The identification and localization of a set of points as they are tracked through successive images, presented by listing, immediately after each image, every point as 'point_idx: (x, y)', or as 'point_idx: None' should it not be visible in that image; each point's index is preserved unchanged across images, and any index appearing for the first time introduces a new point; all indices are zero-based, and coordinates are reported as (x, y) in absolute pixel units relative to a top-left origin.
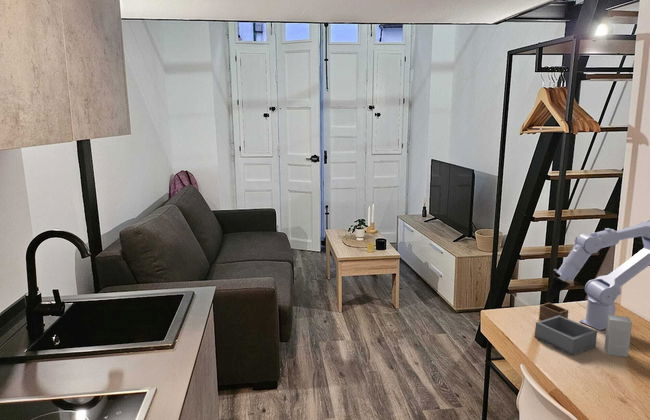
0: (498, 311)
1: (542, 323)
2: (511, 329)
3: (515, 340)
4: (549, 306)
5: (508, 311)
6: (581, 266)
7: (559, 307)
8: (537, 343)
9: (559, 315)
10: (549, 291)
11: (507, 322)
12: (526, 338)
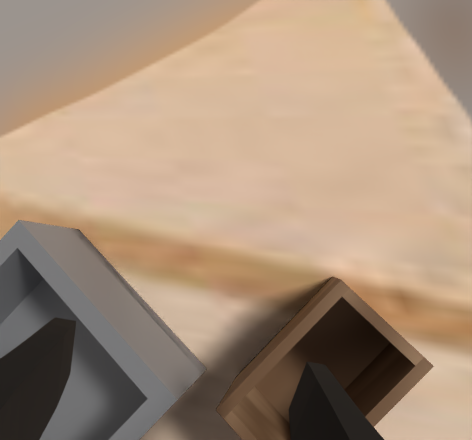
0: (371, 38)
1: (35, 262)
2: (139, 117)
3: (25, 137)
4: (406, 361)
5: (393, 96)
6: None
7: None
8: None
9: (171, 401)
10: (20, 349)
11: (222, 95)
12: (57, 188)
